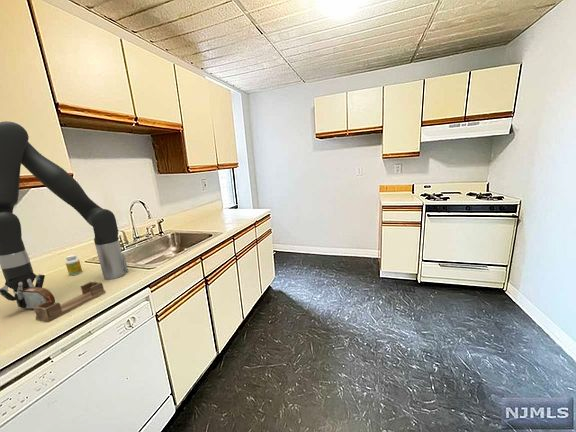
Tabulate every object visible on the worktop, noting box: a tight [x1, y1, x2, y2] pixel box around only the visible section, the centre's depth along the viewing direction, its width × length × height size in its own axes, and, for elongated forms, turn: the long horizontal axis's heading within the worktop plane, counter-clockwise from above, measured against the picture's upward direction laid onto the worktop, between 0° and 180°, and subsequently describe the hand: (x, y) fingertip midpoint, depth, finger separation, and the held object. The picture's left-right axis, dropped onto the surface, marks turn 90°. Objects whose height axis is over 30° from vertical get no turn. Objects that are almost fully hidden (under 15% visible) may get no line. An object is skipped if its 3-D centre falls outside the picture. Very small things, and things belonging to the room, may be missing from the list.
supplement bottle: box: [65, 254, 83, 277], centre depth 129 cm, size 5×5×10 cm
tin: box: [22, 287, 56, 310], centre depth 96 cm, size 15×3×8 cm, turn 78°
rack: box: [33, 280, 107, 323], centre depth 97 cm, size 7×20×5 cm, turn 161°
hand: (29, 304), depth 98 cm, fingers closed on tin, 3 cm apart
